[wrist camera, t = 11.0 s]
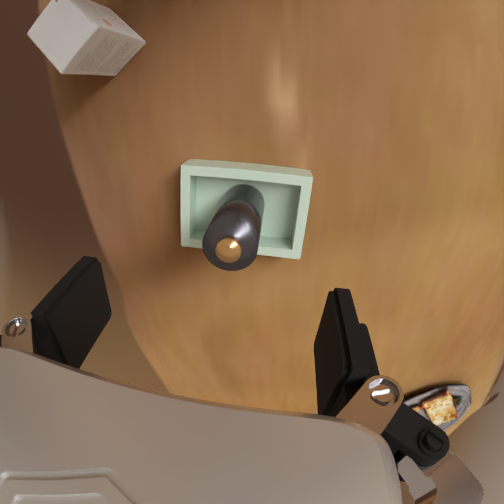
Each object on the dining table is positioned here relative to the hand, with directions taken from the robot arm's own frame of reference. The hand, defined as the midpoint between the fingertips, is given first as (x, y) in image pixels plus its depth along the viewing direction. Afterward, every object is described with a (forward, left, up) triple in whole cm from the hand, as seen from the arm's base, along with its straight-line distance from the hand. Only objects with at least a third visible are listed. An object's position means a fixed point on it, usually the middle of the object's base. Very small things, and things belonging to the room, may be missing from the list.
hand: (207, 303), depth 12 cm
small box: (-15, -18, -24) cm, 33 cm away
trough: (+4, -1, -23) cm, 24 cm away
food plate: (+45, +40, -24) cm, 65 cm away
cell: (+3, -1, -22) cm, 23 cm away
